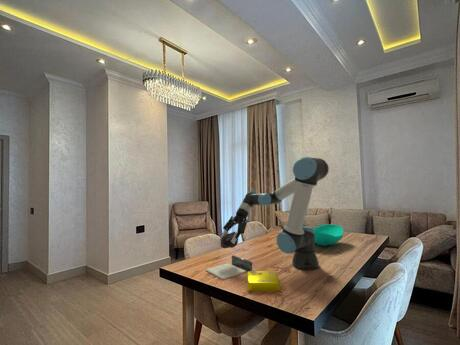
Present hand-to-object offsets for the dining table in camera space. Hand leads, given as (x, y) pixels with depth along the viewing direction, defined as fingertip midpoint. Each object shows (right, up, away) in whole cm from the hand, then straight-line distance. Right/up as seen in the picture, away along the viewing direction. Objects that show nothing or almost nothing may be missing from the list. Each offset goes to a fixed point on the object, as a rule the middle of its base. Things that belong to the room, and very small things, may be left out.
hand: (227, 241), depth 141 cm
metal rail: (+9, -15, -2) cm, 17 cm away
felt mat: (-1, -15, -9) cm, 17 cm away
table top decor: (+76, -16, +44) cm, 89 cm away
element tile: (+18, -14, -27) cm, 35 cm away
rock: (+2, -5, +3) cm, 6 cm away
